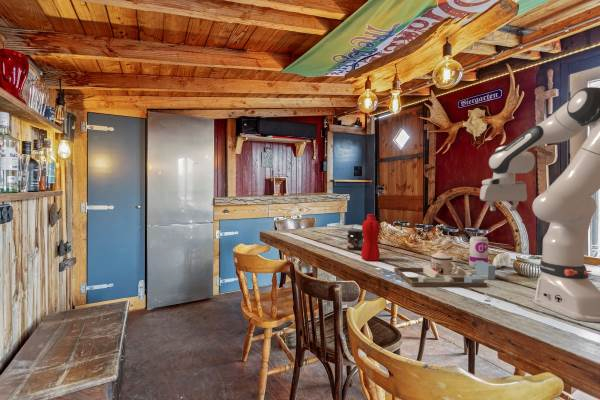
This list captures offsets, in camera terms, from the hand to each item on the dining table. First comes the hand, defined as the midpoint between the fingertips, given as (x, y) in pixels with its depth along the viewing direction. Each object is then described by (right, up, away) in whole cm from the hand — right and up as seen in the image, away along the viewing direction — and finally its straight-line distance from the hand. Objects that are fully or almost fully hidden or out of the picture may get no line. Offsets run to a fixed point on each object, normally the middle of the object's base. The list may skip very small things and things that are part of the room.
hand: (502, 210), depth 148 cm
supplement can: (-5, -29, +11) cm, 31 cm away
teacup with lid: (-30, -29, -7) cm, 43 cm away
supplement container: (-60, -27, +55) cm, 85 cm away
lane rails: (-35, -29, -10) cm, 46 cm away
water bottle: (-55, -28, +26) cm, 67 cm away
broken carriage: (-33, -30, -17) cm, 47 cm away
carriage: (-24, -29, -6) cm, 38 cm away
